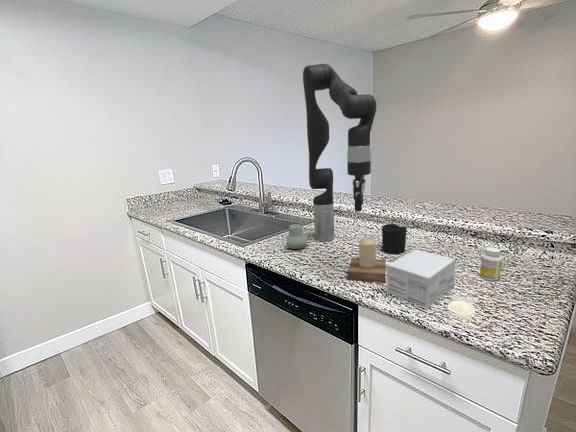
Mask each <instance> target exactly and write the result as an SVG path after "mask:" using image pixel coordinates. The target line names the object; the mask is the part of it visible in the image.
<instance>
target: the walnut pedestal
mask: <svg viewBox="0 0 576 432" xmlns="http://www.w3.org/2000/svg"><path fill="white" fill-rule="evenodd" d="M386 261H387V260H386V259H376V264H375V267H374V268H362V267H360V266H359V257H357V258H356V257H351V260H350V263H349V266H348V270H347V280H348V281H359V282H368V283H370V282H372V283H381V284H382V283H383V284H385V283H386V277H387V267H386V266H387V262H386Z"/></svg>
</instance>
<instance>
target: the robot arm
mask: <svg viewBox="0 0 576 432" xmlns="http://www.w3.org/2000/svg"><path fill="white" fill-rule="evenodd" d="M302 83H303V84H302V85H303V94H304V99H305V110H306V112H305V113H306V132H307V133H306V134H307V135H306V136H307V145H308V146H307V147H308V183H309V187H310V188H311V189H312V190H324V189H325V190H324V192H323V193H321V194H318V195H316V196H314V197H313V199H312V201H313V203H312V204H313V205H312V206H313V224H314V239H316V240H315V241H317V240H318V242H330V241H329V240H331V241H333V240H335V214H334V213H335V212H334V172H333V170H332V168H330V167H329V168H328V167H325V168H322V167H321V168H317V164H318V161H319V159H320V158H321V156H322V154H323V152H324V150H326V147H327V146H328V144H329V141H330V123H329V120H328V119H327V117H326V115H325V114H324V113H323V111H322V110H321V108H320V107H319V105H318V101H317V97H316V92H317V91H323V90H327V89H328V93H329V97H330V99H331V101H333V103H335V104H336V105H337V106H338V107H339V109H340V111H341V113H342V116H343V117H344V118H345V119H346V118H347V119H349V120H350V119H351V120H353V119H354V120H356V119H360V120H359V122H358V124H357V125H356V126H352V127H350V128H349V129H348V130H347V155H346V157H347V158H346V159H347V170H346V171H347V175H348V176H353V177H354V178H353V180H352V194H353V197H352V198H353V200H354V211H355V212H362V210H363V208H362V207H363V205H364V193H365V190H366V189H365V188H366V179H365V176H368V175H370V174H371V172H372V170H371V169H372V150H371V130H372V128H373V124H374V123H373V122H374V119H375V116H376V113H377V101H376V99H375V97H374V95H372V94H368V93H367V94H358V92H357V91H356V89H355V88H354V87H352V86H351V85H349V84H348V83H346V82H345V81H344V80H342V78H341V77H340V76H339V74H338V73H337V72H336V71H335V69H334V68H333V67H332V66H331V65H330V64H328V63H319V64H311V65H306V66H304V68H303V72H302Z"/></svg>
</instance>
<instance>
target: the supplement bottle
mask: <svg viewBox="0 0 576 432" xmlns="http://www.w3.org/2000/svg"><path fill="white" fill-rule="evenodd" d="M484 250H485V251H484V254H482V256H481V262H480V263H481V264H480V272H479V273H480V274H479V275H480V277H481V278H482V279H483V280H487V281H492V282H493V281H496V282H497V281H498V280H500V277H501V270H502V264H503V257H502V256H501V249H500V248H498V247H494V246H493V247H492V246H491V247H489V246H488V247H485V249H484Z"/></svg>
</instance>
